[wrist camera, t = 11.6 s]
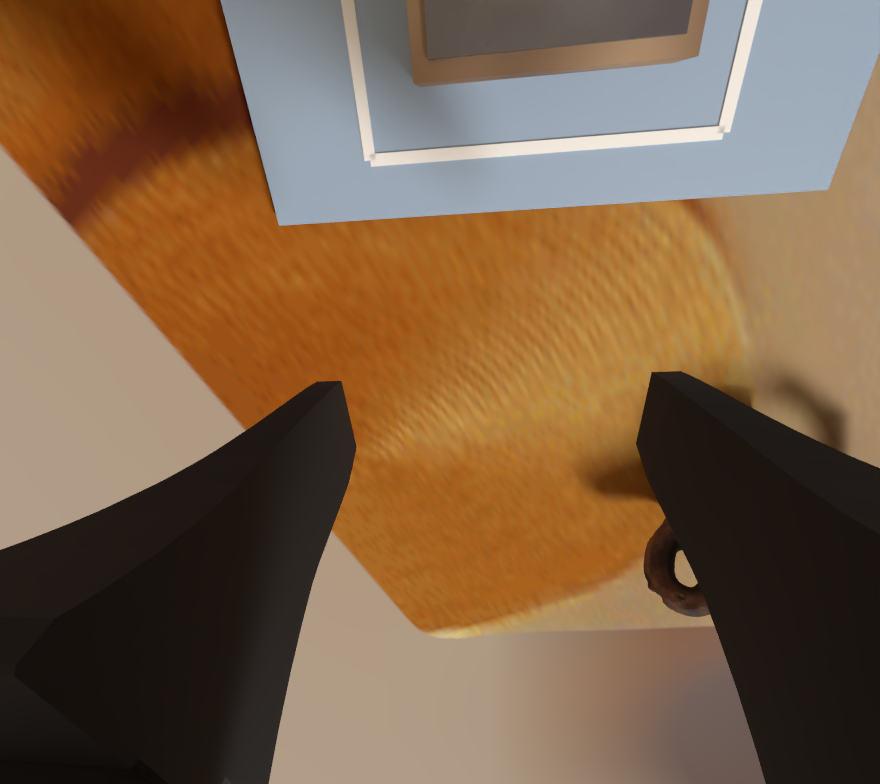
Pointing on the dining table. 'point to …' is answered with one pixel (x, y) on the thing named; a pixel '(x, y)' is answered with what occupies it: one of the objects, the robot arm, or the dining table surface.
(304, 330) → the dining table surface
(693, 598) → the pottery mug
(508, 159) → the board
